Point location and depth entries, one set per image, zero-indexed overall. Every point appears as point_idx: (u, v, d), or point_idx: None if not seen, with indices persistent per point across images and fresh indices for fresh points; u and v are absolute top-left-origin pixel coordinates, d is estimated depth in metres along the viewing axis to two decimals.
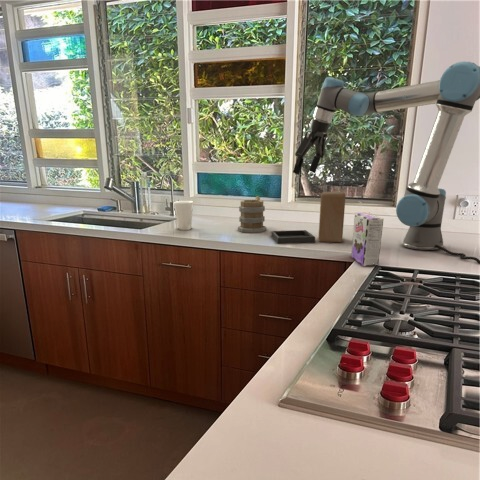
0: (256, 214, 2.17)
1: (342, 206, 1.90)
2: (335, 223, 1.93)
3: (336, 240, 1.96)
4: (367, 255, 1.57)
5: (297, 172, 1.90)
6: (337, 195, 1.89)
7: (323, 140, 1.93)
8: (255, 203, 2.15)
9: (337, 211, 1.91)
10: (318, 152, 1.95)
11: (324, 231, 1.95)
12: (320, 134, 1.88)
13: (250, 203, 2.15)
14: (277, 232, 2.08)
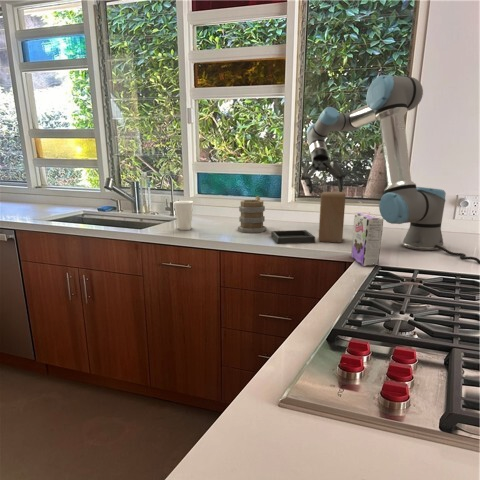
0: (256, 214, 2.17)
1: (342, 206, 1.90)
2: (335, 223, 1.93)
3: (336, 240, 1.96)
4: (367, 255, 1.57)
5: (310, 188, 2.03)
6: (337, 195, 1.89)
7: (334, 165, 2.09)
8: (255, 203, 2.15)
9: (337, 211, 1.91)
10: (336, 175, 2.07)
11: (324, 231, 1.95)
12: (323, 160, 2.09)
13: (250, 203, 2.15)
14: (277, 232, 2.08)
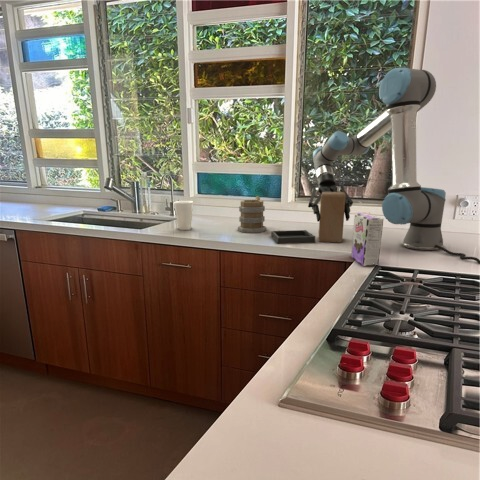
0: (256, 214, 2.17)
1: (342, 206, 1.90)
2: (335, 223, 1.93)
3: (336, 240, 1.96)
4: (367, 255, 1.57)
5: (318, 217, 1.94)
6: (337, 195, 1.89)
7: (342, 191, 2.01)
8: (255, 203, 2.15)
9: (337, 211, 1.91)
10: None
11: (324, 231, 1.95)
12: (330, 186, 2.01)
13: (250, 203, 2.15)
14: (277, 232, 2.08)
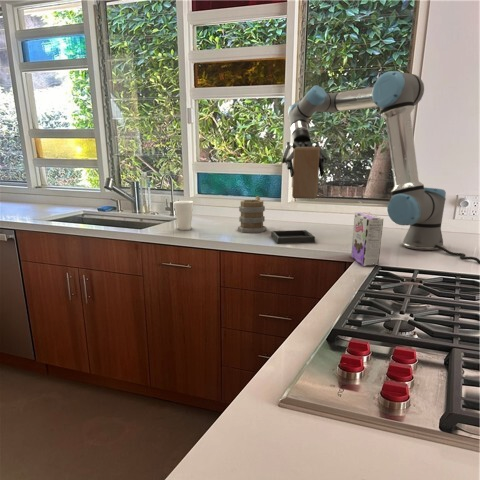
0: (256, 214, 2.17)
1: (315, 160, 1.85)
2: (309, 177, 1.88)
3: (310, 196, 1.91)
4: (367, 255, 1.57)
5: (291, 172, 1.89)
6: (310, 148, 1.84)
7: None
8: (255, 203, 2.15)
9: (310, 166, 1.86)
10: None
11: (298, 187, 1.90)
12: (304, 142, 1.96)
13: (250, 203, 2.15)
14: (277, 232, 2.08)
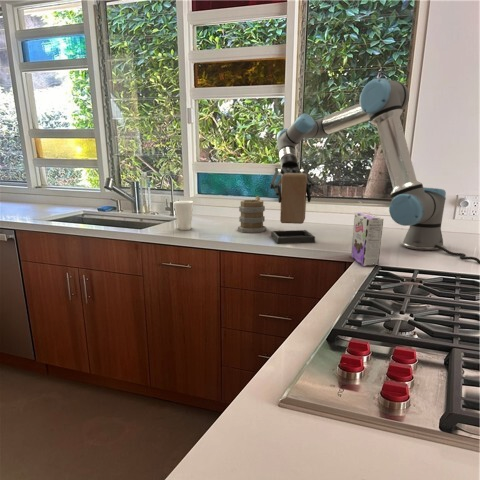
0: (256, 214, 2.17)
1: (302, 187, 1.90)
2: (296, 204, 1.93)
3: (297, 221, 1.95)
4: (367, 255, 1.57)
5: (279, 198, 1.94)
6: (297, 176, 1.89)
7: None
8: (255, 203, 2.15)
9: (297, 192, 1.91)
10: None
11: (285, 212, 1.95)
12: (292, 167, 2.00)
13: (250, 203, 2.15)
14: (277, 232, 2.08)
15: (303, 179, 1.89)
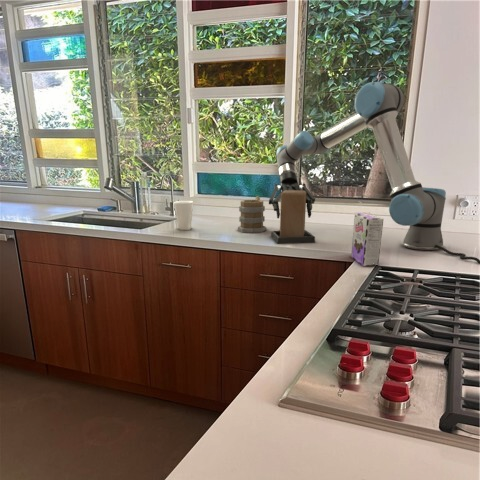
0: (256, 214, 2.17)
1: (302, 204, 1.92)
2: (295, 221, 1.95)
3: None
4: (367, 255, 1.57)
5: (277, 213, 1.96)
6: (297, 193, 1.91)
7: (304, 189, 2.03)
8: (255, 203, 2.15)
9: (297, 210, 1.93)
10: None
11: (285, 229, 1.97)
12: (292, 184, 2.03)
13: (250, 203, 2.15)
14: (277, 232, 2.08)
15: (302, 197, 1.91)
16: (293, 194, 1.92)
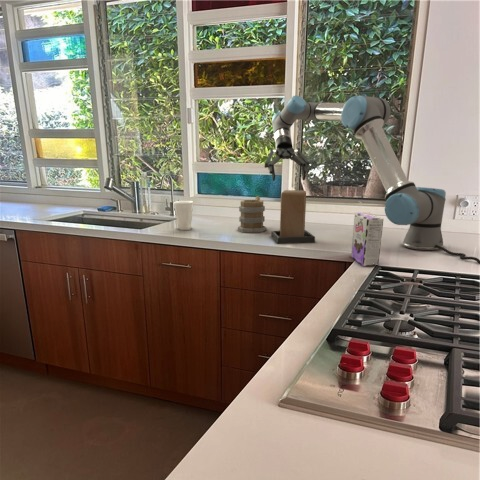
0: (256, 214, 2.17)
1: (302, 204, 1.92)
2: (295, 221, 1.95)
3: None
4: (367, 255, 1.57)
5: (273, 176, 2.03)
6: (297, 193, 1.91)
7: (298, 153, 2.09)
8: (255, 203, 2.15)
9: (297, 210, 1.93)
10: (299, 162, 2.08)
11: (285, 229, 1.97)
12: (287, 148, 2.10)
13: (250, 203, 2.15)
14: (277, 232, 2.08)
15: (302, 197, 1.91)
16: (293, 194, 1.92)
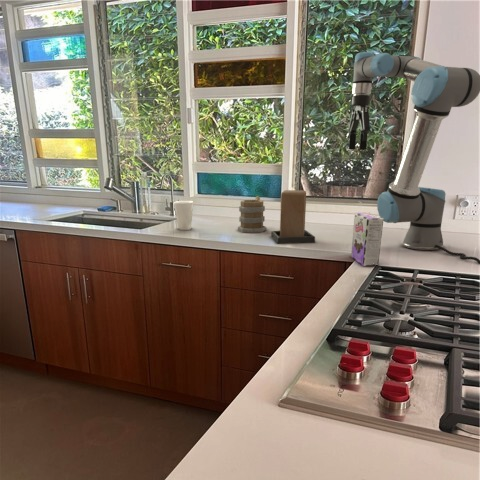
0: (256, 214, 2.17)
1: (302, 204, 1.92)
2: (295, 221, 1.95)
3: None
4: (367, 255, 1.57)
5: None
6: (297, 193, 1.91)
7: None
8: (255, 203, 2.15)
9: (297, 210, 1.93)
10: None
11: (285, 229, 1.97)
12: (358, 108, 1.93)
13: (250, 203, 2.15)
14: (277, 232, 2.08)
15: (302, 197, 1.91)
16: (293, 194, 1.92)
